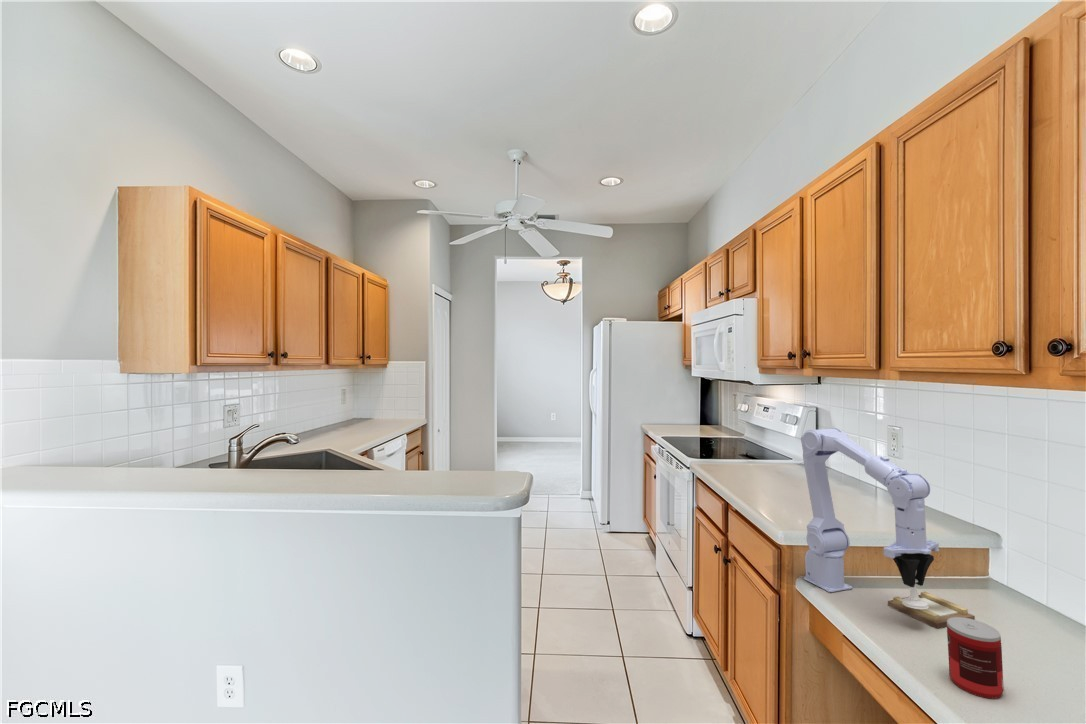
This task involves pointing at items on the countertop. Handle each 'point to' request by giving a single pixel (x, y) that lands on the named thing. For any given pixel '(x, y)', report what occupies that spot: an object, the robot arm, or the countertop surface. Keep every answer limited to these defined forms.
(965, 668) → the canned food
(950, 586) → the countertop surface
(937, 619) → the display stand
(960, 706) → the countertop surface
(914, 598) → the chess piece
